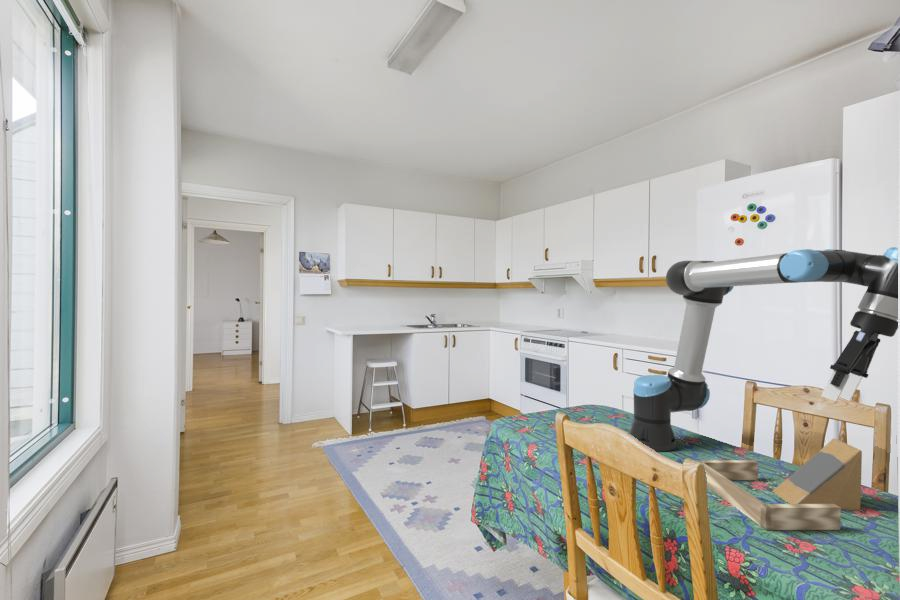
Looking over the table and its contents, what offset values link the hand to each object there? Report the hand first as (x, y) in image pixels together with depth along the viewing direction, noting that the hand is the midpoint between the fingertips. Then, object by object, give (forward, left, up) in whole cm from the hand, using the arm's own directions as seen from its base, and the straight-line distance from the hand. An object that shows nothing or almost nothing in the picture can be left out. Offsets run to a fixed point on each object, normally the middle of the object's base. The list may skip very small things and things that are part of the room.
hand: (835, 398), depth 98 cm
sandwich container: (-7, +1, -28) cm, 29 cm away
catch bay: (-6, -13, -28) cm, 31 cm away
